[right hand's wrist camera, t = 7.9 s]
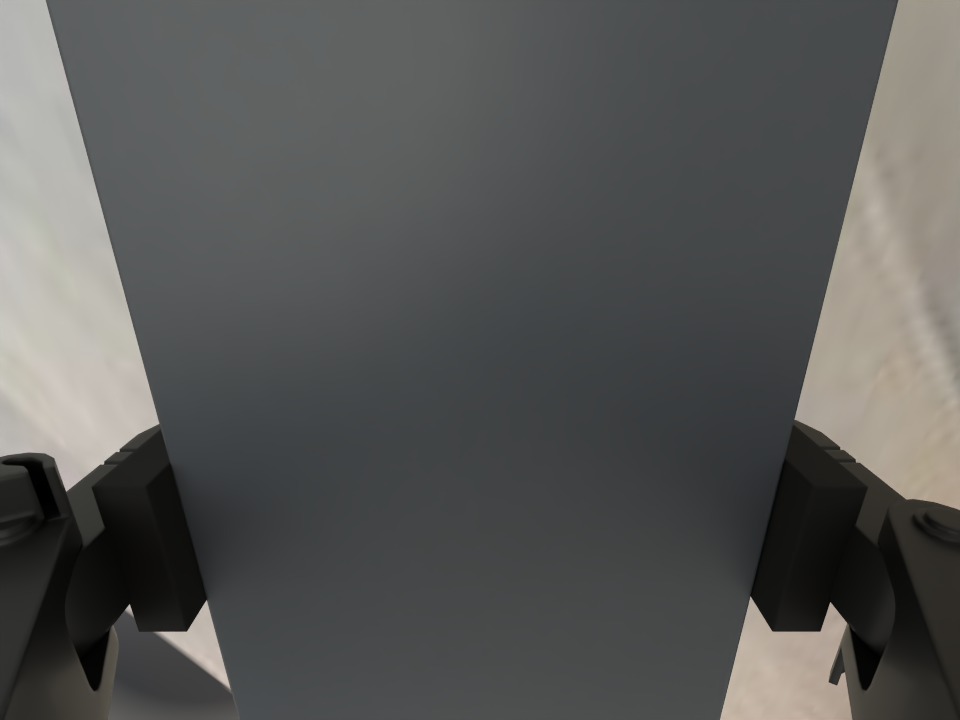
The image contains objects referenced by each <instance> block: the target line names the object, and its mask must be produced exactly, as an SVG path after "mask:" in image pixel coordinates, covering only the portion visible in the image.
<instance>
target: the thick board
mask: <svg viewBox="0 0 960 720" xmlns="http://www.w3.org/2000/svg"><path fill="white" fill-rule="evenodd" d="M46 3H47V6H48V10H49V14H50V18H51V21H52V25H53V29H54V32H55V36H56V40H57V44H58V47H59V51H60V55H61V59H62V62H63V66H64V70H65V73H66V77H67V81H68V85H69V88H70V92H71V96H72V99H73V103H74V107H75V111H76V114H77V118H78V122H79V126H80V129H81V133H82V137H83V140H84V144H85V148H86V152H87V155H88V159H89V163H90V166H91V170H92V174H93V178H94V181H95V185H96V189H97V193H98V196H99V200H100V204H101V207H102V211H103V215H104V219H105V222H106V226H107V230H108V234H109V237H110V241H111V245H112V248H113V252H114V256H115V260H116V263H117V267H118V271H119V274H120V278H121V282H122V286H123V289H124V293H125V297H126V301H127V304H128V308H129V312H130V315H131V319H132V323H133V327H134V330H135V334H136V338H137V341H138V345H139V349H140V353H141V356H142V360H143V364H144V368H145V371H146V375H147V379H148V382H149V386H150V390H151V394H152V397H153V401H154V405H155V408H156V412H157V416H158V420H159V423H160V427H161V431H162V435H163V438H164V442H165V446H166V449H167V453H168V457H169V461H170V464H171V467H172V471H173V475H174V479H175V483H176V486H177V490H178V494H179V498H180V502H181V505H182V509H183V513H184V516H185V520H186V524H187V528H188V531H189V535H190V539H191V542H192V546H193V550H194V554H195V557H196V561H197V565H198V569H199V572H200V576H201V580H202V583H203V587H204V591H205V595H206V598H207V602H208V606H209V610H210V613H211V617H212V621H213V624H214V628H215V632H216V636H217V639H218V643H219V647H220V650H221V654H222V658H223V662H224V665H225V669H226V673H227V677H228V680H229V684H230V688H231V691H232V695H233V699H234V702H235V706H236V710H237V714H238V717H239V720H720V717H721V713H722V709H723V705H724V701H725V697H726V692H727V688H728V684H729V680H730V676H731V672H732V668H733V664H734V660H735V656H736V652H737V648H738V644H739V640H740V636H741V632H742V628H743V624H744V620H745V616H746V612H747V608H748V604H749V600H750V596H751V592H752V588H753V584H754V580H755V576H756V572H757V568H758V563H759V559H760V555H761V551H762V547H763V543H764V539H765V535H766V531H767V527H768V523H769V519H770V515H771V511H772V507H773V503H774V499H775V495H776V491H777V487H778V483H779V479H780V475H781V471H782V467H783V463H784V459H785V455H786V451H787V447H788V443H789V438H790V434H791V430H792V426H793V422H794V418H795V414H796V410H797V406H798V402H799V398H800V394H801V390H802V386H803V382H804V378H805V374H806V370H807V366H808V362H809V358H810V354H811V350H812V346H813V342H814V338H815V334H816V330H817V326H818V322H819V318H820V314H821V309H822V305H823V301H824V297H825V293H826V289H827V285H828V281H829V277H830V273H831V269H832V265H833V261H834V257H835V253H836V249H837V245H838V241H839V237H840V233H841V229H842V225H843V221H844V217H845V213H846V209H847V205H848V201H849V197H850V193H851V189H852V184H853V180H854V176H855V172H856V168H857V164H858V160H859V156H860V152H861V148H862V144H863V140H864V136H865V132H866V128H867V124H868V120H869V116H870V112H871V108H872V104H873V100H874V96H875V92H876V88H877V84H878V80H879V76H880V72H881V68H882V64H883V59H884V55H885V51H886V47H887V43H888V39H889V35H890V31H891V27H892V23H893V19H894V15H895V11H896V7H897V3H898V0H46Z"/></svg>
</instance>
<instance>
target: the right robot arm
mask: <svg viewBox="0 0 960 720" xmlns="http://www.w3.org/2000/svg"><path fill="white" fill-rule="evenodd" d="M751 598H752V599H753V601H754V602H755V604H756V606H757V607H758V609H759V610H760V612H761V614H762V615H763V617H764V618H765V620H766V622H767V623H768V625H769V626H770V628H771V630H772V631H773V632H820V631H821V628H822V625H823V622H824V619H825V616H826V613H827V610H828V607H829V604H830V602H831V603H832V604H833V606H834V607H835V608H836V609H837V611H838V612H839V613H840V614H841V616H842V617H843V618H844V619H845V621H846V622H847V626H846V629H845V632H844V635H843V637H842V640H841V643H840V646H839V649H838V651H837V654H836V657H835V660H834V663H833V666H832V668H831V671H830V677H829V682H830V683H832V684H835V685H837V684H838V682H839V679H840V676H841V674H842V673H844V672H845V674H846V681H847V687H848V694H849V700H850V706H851V713H852V719H853V720H960V510H958V509H955V508H951V507H948V506H945V505H941V504H938V503H935V502H929V501H922V500H915V499H910V500H906V499H905V498H903V497H902V496H901V495H900V494H898V493H897V492H896V491H895V490H893V489H892V488H891V487H890V486H888V485H887V484H886V483H885V482H883V481H882V480H881V479H880V478H878V477H877V476H876V475H875V474H873V473H872V472H871V471H869V470H868V469H867V468H866V467H864V466H863V465H862V464H861V463H856V459H854V458H853V457H852V456H851V455H849V454H848V453H847V452H846V451H844V450H840V447H839V446H838V445H837V444H835V443H834V442H833V441H832V440H830V439H829V438H828V437H827V436H825V435H824V434H823V433H822V432H820V431H817V430H815V429H813V428H811V427H809V426H807V425H805V424H803V423H801V422H799V421H797V420H794V422H793V426H792V430H791V434H790V438H789V443H788V447H787V451H786V455H785V459H784V463H783V467H782V471H781V475H780V479H779V483H778V487H777V491H776V495H775V499H774V503H773V507H772V511H771V515H770V519H769V523H768V527H767V531H766V535H765V539H764V543H763V547H762V551H761V555H760V559H759V563H758V568H757V572H756V576H755V580H754V584H753V588H752V592H751ZM206 600H207V598H206V595H205V591H204V587H203V583H202V580H201V576H200V572H199V569H198V565H197V561H196V557H195V554H194V550H193V546H192V542H191V539H190V535H189V531H188V528H187V524H186V520H185V516H184V513H183V509H182V505H181V502H180V498H179V494H178V490H177V486H176V483H175V479H174V475H173V471H172V467H171V464H170V461H169V457H168V453H167V449H166V446H165V442H164V438H163V435H162V431H161V427H160V424H159V425H156V426H154V427H152V428H150V429H148V430H146V431H144V432H142V433H140V434H138V435H137V436H136V437H134V438H133V439H132V440H131V441H129V442H128V443H127V444H126V445H124V446H123V447H122V448H121V449H120V452H116V453H114V454H113V455H112V456H111V457H109V458H108V459H107V460H106V461H104V465H99V466H98V467H97V468H96V469H94V470H93V471H92V472H91V473H89V474H88V475H87V476H86V477H84V478H83V479H82V480H81V481H79V482H78V483H77V484H76V485H74V486H73V487H72V488H71V489H69V490H68V491H67V492H66V490H65V488H64V485H63V482H62V479H61V476H60V474H59V471H58V468H57V465H56V462H55V459H54V458H53V457H51V456H49V455H47V454H43V453H22V454H14V455H7V456H3V457H0V720H108V715H109V708H110V701H111V695H112V689H113V682H114V676H115V669H116V663H117V657H118V650H119V645H118V638H117V635H116V632H115V629H114V626H113V624H114V623H115V622H116V621H117V619H118V618H119V617H120V615H121V614H122V613H123V612H124V610H125V609H126V608H127V607H128V605H129V604H130V606H131V609H132V612H133V615H134V618H135V621H136V624H137V627H138V630H139V631H140V632H187V630H188V629H189V627H190V626H191V624H192V622H193V621H194V619H195V618H196V616H197V614H198V613H199V611H200V610H201V608H202V606H203V605H204V603H205V602H206Z"/></svg>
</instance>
